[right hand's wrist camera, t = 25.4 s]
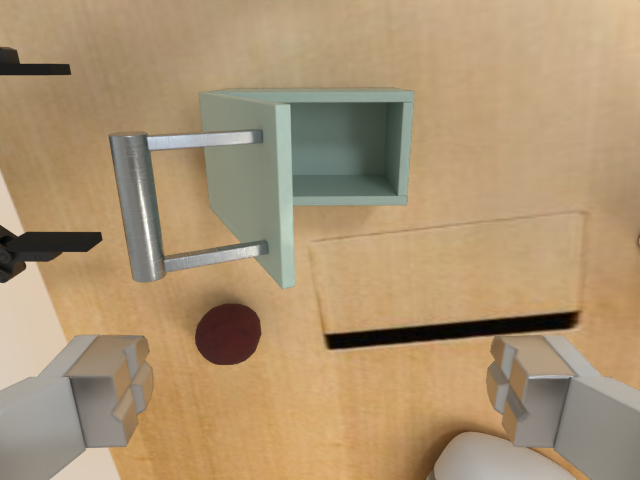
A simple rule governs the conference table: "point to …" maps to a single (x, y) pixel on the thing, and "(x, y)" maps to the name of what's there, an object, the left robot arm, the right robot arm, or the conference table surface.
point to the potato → (228, 334)
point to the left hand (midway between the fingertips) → (79, 161)
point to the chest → (345, 143)
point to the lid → (216, 187)
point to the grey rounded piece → (493, 461)
